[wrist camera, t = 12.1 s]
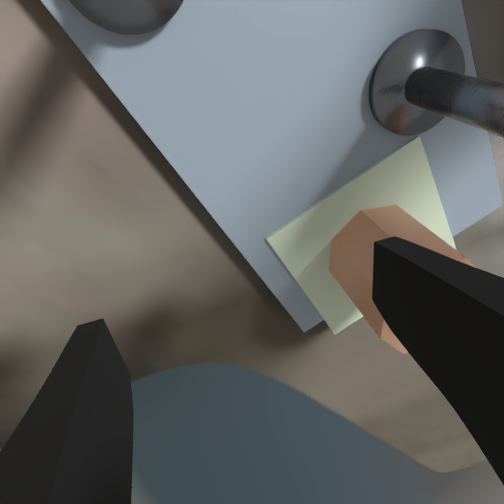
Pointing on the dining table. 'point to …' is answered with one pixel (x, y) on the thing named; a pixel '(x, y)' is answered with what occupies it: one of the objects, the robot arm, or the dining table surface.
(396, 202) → the pad
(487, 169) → the board
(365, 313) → the octagonal hollow tube
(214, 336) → the dining table surface
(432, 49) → the posts
